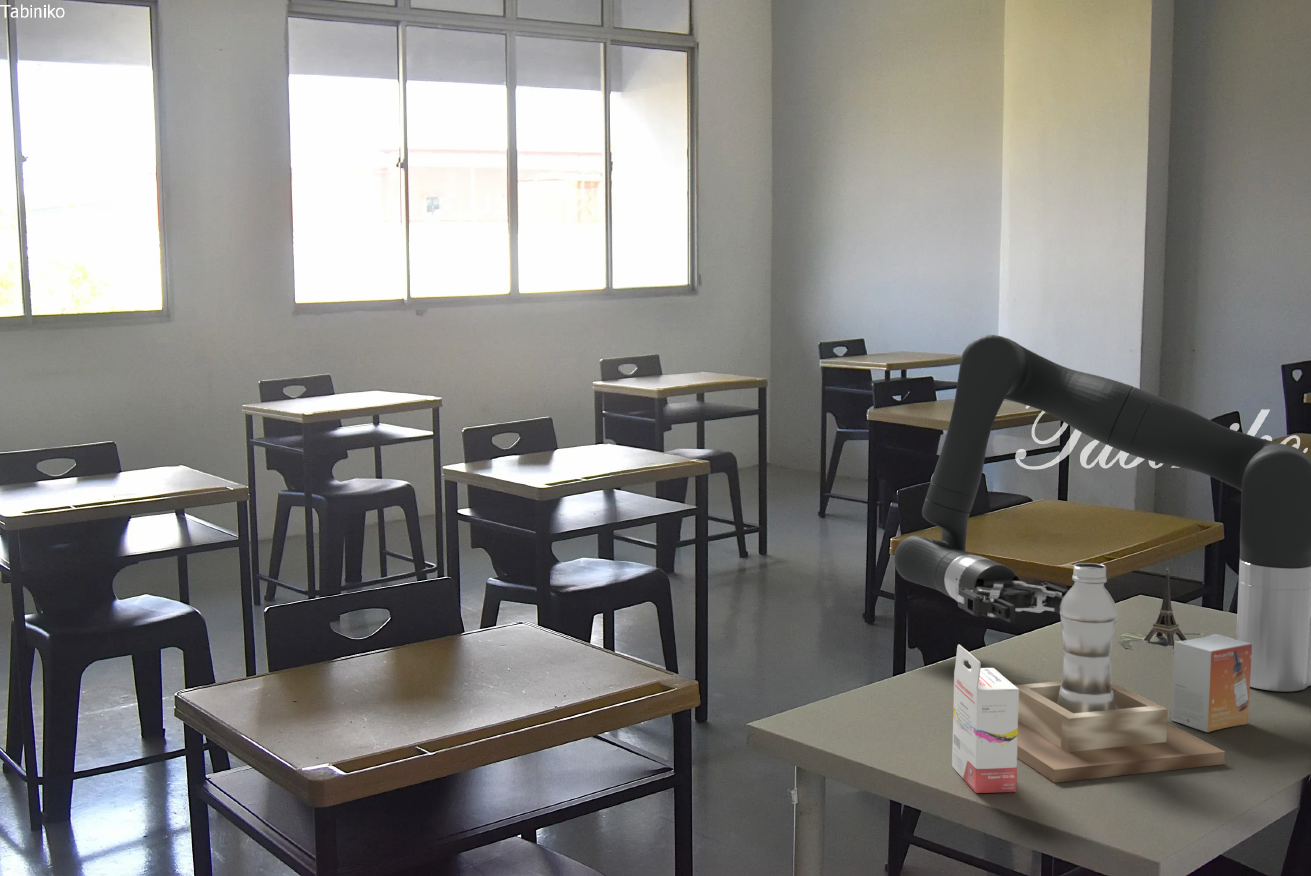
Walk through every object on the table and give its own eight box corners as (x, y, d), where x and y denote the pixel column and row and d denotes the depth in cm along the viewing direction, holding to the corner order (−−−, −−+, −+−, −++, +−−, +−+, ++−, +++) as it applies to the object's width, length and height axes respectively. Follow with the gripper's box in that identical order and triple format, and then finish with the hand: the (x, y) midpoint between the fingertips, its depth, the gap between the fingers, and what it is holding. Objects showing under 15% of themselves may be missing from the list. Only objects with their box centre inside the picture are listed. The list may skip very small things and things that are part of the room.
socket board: (1112, 705, 167) (1113, 664, 166) (1224, 764, 145) (1226, 717, 145) (961, 719, 161) (961, 677, 161) (1054, 782, 140) (1055, 734, 140)
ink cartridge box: (1019, 793, 137) (1022, 662, 136) (975, 794, 137) (977, 663, 135) (992, 764, 146) (994, 640, 144) (950, 766, 146) (952, 642, 144)
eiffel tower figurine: (1203, 636, 202) (1206, 555, 201) (1226, 654, 192) (1230, 568, 190) (1107, 635, 203) (1110, 554, 202) (1125, 652, 193) (1128, 567, 192)
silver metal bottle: (1118, 737, 150) (1124, 572, 147) (1059, 733, 151) (1063, 570, 149) (1110, 719, 156) (1115, 561, 154) (1053, 716, 157) (1057, 559, 155)
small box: (1206, 734, 156) (1210, 651, 154) (1169, 720, 160) (1172, 640, 159) (1250, 723, 159) (1253, 642, 158) (1212, 711, 164) (1215, 632, 163)
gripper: (935, 561, 176) (993, 587, 160) (1027, 555, 179) (1093, 580, 163) (934, 614, 176) (992, 644, 161) (1026, 607, 180) (1091, 636, 164)
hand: (1043, 612), depth 162 cm, fingers open, 8 cm apart
